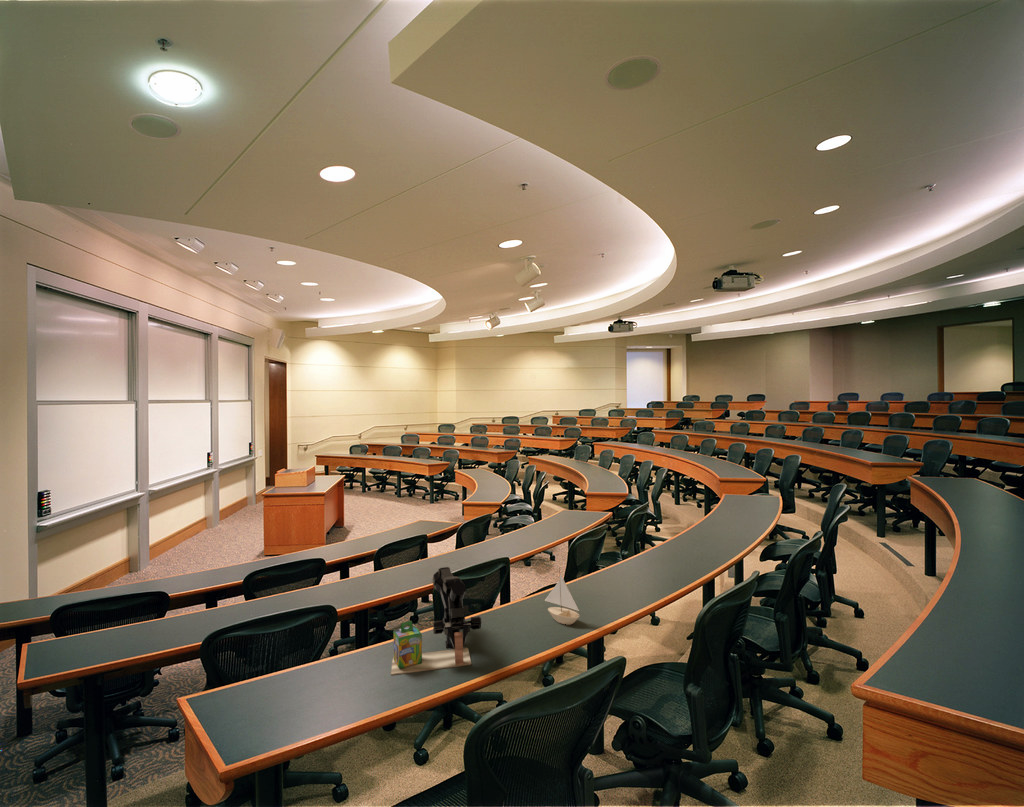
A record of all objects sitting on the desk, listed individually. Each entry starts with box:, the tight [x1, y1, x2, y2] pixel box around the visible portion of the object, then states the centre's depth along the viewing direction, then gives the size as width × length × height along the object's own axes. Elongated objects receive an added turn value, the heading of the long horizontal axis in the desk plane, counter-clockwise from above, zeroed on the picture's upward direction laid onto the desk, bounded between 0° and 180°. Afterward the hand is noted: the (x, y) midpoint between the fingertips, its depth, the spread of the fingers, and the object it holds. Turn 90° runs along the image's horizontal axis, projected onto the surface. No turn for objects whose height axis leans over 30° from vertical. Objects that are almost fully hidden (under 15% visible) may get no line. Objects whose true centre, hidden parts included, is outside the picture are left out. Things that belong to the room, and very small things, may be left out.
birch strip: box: [390, 631, 472, 676], centre depth 189 cm, size 14×30×12 cm, turn 101°
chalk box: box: [392, 620, 423, 669], centre depth 188 cm, size 9×9×15 cm
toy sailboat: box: [544, 566, 580, 626], centre depth 223 cm, size 21×25×9 cm
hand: (459, 647), depth 184 cm, fingers closed on birch strip, 3 cm apart
